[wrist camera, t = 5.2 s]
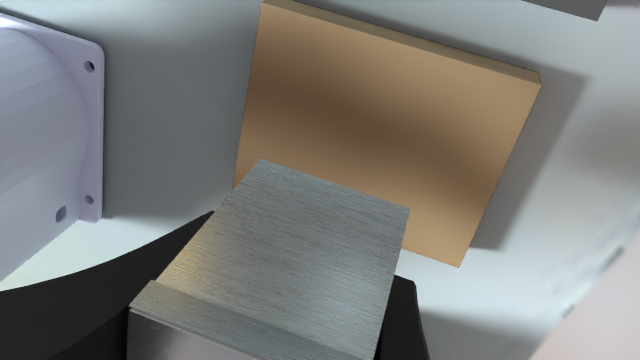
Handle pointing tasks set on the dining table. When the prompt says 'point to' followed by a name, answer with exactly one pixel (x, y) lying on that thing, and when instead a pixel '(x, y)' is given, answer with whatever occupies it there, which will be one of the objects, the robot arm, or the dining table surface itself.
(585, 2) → the rack plate
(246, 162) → the pad
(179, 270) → the steel peg
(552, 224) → the dining table surface
